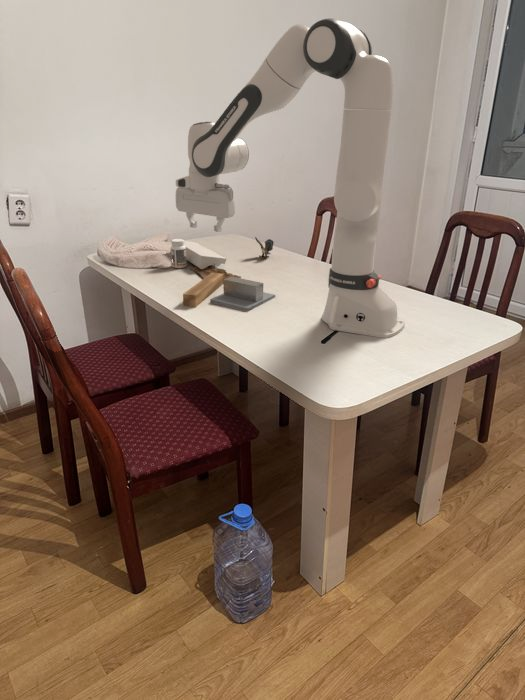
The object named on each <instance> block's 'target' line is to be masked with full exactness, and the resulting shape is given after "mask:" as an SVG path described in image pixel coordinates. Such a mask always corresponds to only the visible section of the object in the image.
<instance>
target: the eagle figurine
mask: <svg viewBox="0 0 525 700" xmlns="http://www.w3.org/2000/svg"><path fill="white" fill-rule="evenodd" d="M254 239H255V240H256V242H257V243H258V244H259V246H260V249H261V253H262V254H261V255H258V257H255V259H265V260H268V257H267V256H268V255H271V254H272V253H271V251H273V249H274V248H273V246H274V244H275V242H274V241H273V240H272V239H267V240H265V241H264V245H263V243H262V242H261V241H260V240H259V239H258V238H257V237H254Z"/></svg>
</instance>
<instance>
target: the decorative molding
mask: <svg viewBox="0 0 525 700" xmlns="http://www.w3.org/2000/svg"><path fill="white" fill-rule="evenodd" d="M184 246H185V247H186V257H187V262H189V263H190V264H193V265H194V267H199V268H200V269H204V268H206V267H211V266H213V267H214V266H215V267H220V266H221V265H223V264H224V265H225V264H226V261H227V258H226V257H224V256H222V255H221V254H219V253H216V252H215V251H213V250H211V249H209V248H207V247H205V246H203V245H201V244H200V243H197V242H196V241H195V242H194V241H187V240H184Z"/></svg>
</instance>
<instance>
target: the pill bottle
mask: <svg viewBox="0 0 525 700" xmlns="http://www.w3.org/2000/svg"><path fill="white" fill-rule="evenodd" d="M184 241H185V240H184V238H183V239H182V238H174V239H171V247H170V256H171V255H172V259H173V263H172V262H171V267H172V268H175V269H181V268H182V269H183V268H186V267H187V266H188V260H187V257H186V247H185V246H184Z"/></svg>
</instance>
